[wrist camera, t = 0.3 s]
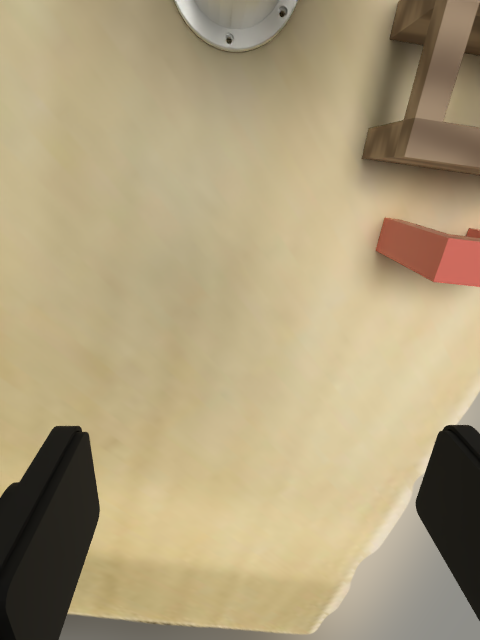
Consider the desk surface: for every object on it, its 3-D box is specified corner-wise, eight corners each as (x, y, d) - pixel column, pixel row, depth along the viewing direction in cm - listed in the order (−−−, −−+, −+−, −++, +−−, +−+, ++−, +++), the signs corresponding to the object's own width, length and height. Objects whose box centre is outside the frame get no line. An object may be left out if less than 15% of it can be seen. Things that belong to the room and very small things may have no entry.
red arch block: (384, 217, 43) (448, 238, 31) (484, 230, 44) (581, 254, 33) (375, 250, 45) (433, 281, 33) (471, 261, 46) (560, 295, 34)
